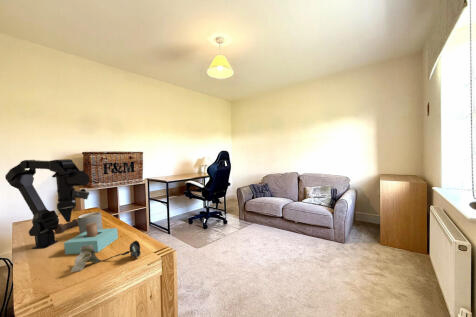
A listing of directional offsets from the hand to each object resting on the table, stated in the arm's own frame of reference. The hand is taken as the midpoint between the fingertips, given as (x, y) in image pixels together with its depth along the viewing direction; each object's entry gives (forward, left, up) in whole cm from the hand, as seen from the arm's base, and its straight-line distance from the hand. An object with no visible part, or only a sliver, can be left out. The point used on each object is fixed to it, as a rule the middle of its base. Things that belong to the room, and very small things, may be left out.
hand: (68, 219), depth 94 cm
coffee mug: (-2, +15, -12) cm, 19 cm away
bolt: (-21, +25, -12) cm, 34 cm away
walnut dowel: (+12, -2, -12) cm, 17 cm away
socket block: (+12, -2, -12) cm, 17 cm away
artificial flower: (+28, -18, -12) cm, 36 cm away
